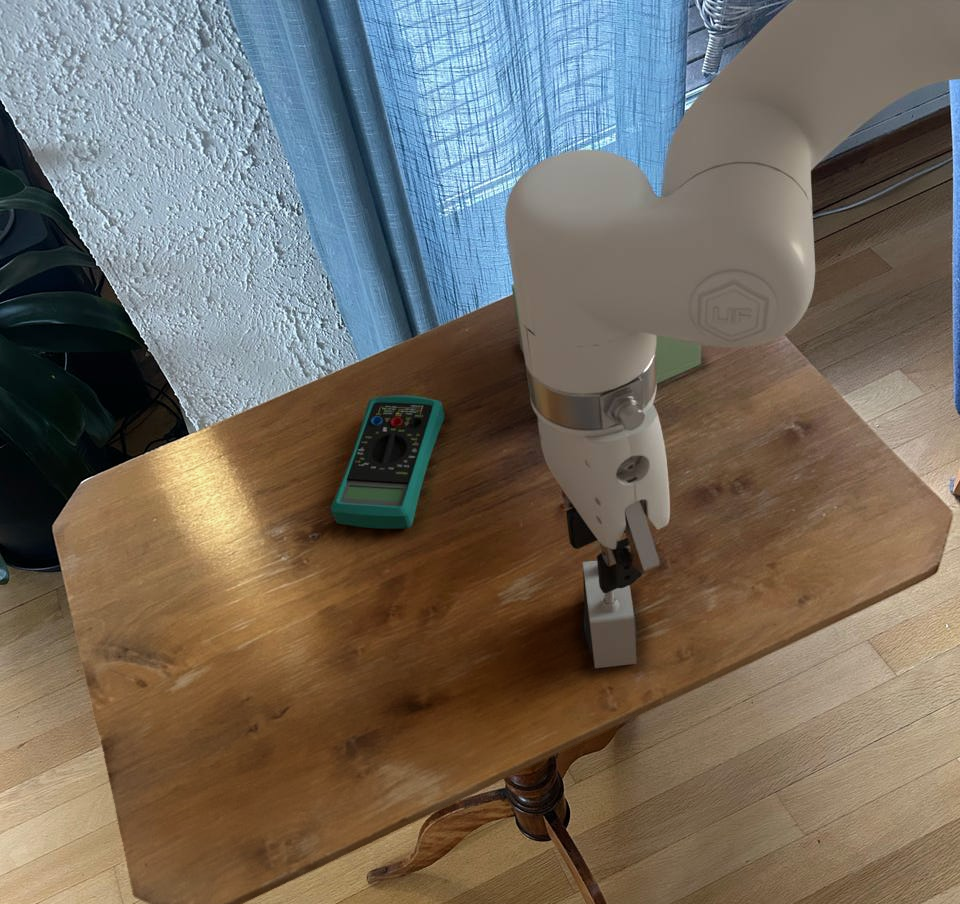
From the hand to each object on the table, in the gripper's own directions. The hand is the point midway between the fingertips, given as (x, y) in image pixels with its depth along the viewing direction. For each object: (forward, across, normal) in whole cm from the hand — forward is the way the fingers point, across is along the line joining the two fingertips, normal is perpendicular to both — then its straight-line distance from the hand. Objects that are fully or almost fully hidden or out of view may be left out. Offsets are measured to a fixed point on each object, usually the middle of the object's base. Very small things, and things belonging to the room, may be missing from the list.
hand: (605, 559), depth 75 cm
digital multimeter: (+10, +26, +9) cm, 29 cm away
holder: (+10, +28, -15) cm, 33 cm away
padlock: (+10, 0, 0) cm, 10 cm away
